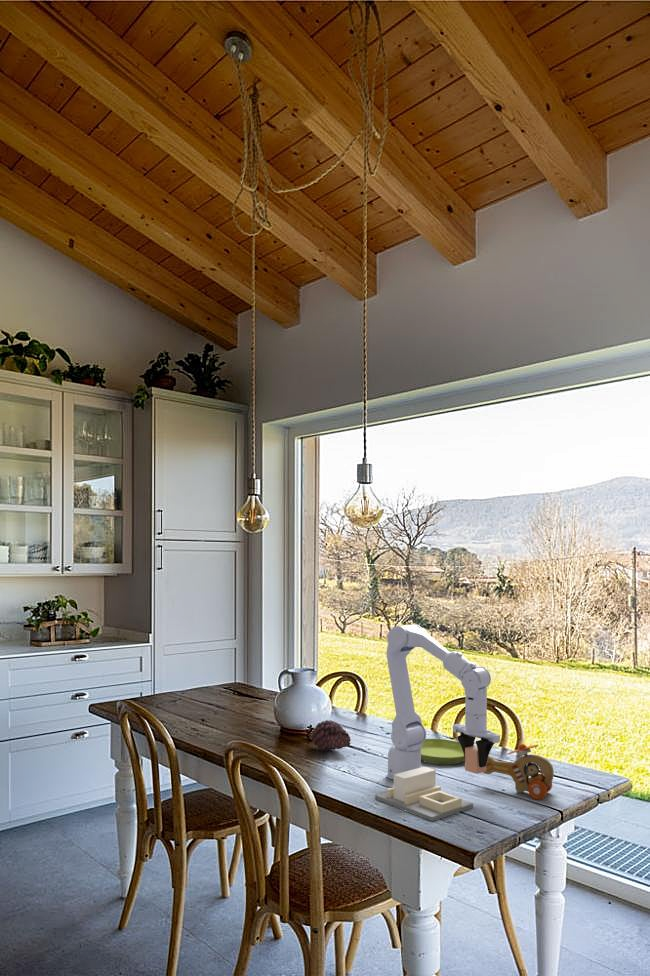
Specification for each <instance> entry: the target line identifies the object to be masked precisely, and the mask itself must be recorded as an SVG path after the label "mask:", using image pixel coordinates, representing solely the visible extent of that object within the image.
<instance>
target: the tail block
mask: <svg viewBox="0 0 650 976" xmlns="http://www.w3.org/2000/svg"><path fill="white" fill-rule="evenodd" d="M464 769H465V770H464V771H466V772H469V773H472V774H476V775H478V774H483V772H485V771H486V766H485V767H479V759H478V749H477V745H475V744H474V745H473V746H470V747H466V748H465V760H464Z"/></svg>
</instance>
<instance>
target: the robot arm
mask: <svg viewBox="0 0 650 976" xmlns="http://www.w3.org/2000/svg"><path fill="white" fill-rule="evenodd" d="M386 639H387V647H386V659H387V666H388V672H389V680H390V685H391V690H392V691H391V692H392V697H393V702H394V708H395V709H394V710H395V716H394V717H393V718H394V719H393V720H392V721H391V734H390V738H391V742H392V744H393V745H391V746H390V748H389V750H388V754H387V774H385V777H386V778H388V779H391V780H393V781H394V774H398V773H402V772H405V771H409V770H413V769H417V768H421V767H422V761H421V747H422V743H423V742H424V741H425V739H427V730H426V728H425V726H424V724H423V722H422V718H421V716H420V715H419V714H418V713H417V712H416V711H415V705H414V699H413V693H412V687H411V682H410V675H409V670H408V669H409V668H408V664H407V657H408V655H409V654H410V653H411V651H412V650H414V649H415V648H422V649H423V650H424V651H426V652H427V653H429V654H430V655H432V656H433V657H435V658H436V659H438V660H439V661H441V662H442V666H443V668H444V670H446V671H447V672H449V673H450V674H451V675H453V677H455V678H457V679H458V680H459V681H460V683H461V685H462V687H463V689H464V696H465V697H464V698H465V702H464V703H465V705H464V706H465V707H464V708H465V711H464V712H465V714H464V721H465V722H464V724H459V723H456V724H453V725H452V733H459V735H457V738H456V739H457V742H459V743H460V745H461V747H462V750H463V753H464V757H465V748H466V747H470V746H473V745H475V744H476V746H477V749H478V759H479V767H485V766H486V763H487V759H488V756H490V753H491V751H492V748H493V746H495V744H497V743H498V744H499V743H500V742H501V734H498V733H496V732H493V731H490V730H488V728H487V727H488V726H487V725H488V721H487V719H488V716H487V715H488V710H487V709H488V704H487V703H488V687H489V686H490V684H491V681H492V678H491V677H492V675H491V674H490V672H489V671H488V670H487V669H486V667H484V666H477V665H476V663H475V662H471V661H469V660H468V659H467V658H466V657H465V656H463V653H462V652H461V651H456V650H455V651H449V650H448V649H447V648H446V647H445V646H443V645H442V644H441V643H440V642H439V641H437V640H436V639H435V638H434V637H432V636H431V635H430V634H429V633H428V632H427V630H426V628H424V627H422V626H421V625H419V624H417V623H412V624H406V625H394V626H392V628H391V629H390V631H388V633H387V635H386ZM476 738H478V739H479V740H478V739H477V740H476Z"/></svg>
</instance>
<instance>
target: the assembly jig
mask: <svg viewBox="0 0 650 976" xmlns="http://www.w3.org/2000/svg"><path fill="white" fill-rule="evenodd" d="M441 789H442V787H441V786H440V785H435V787H432V788H429V789H425V790H422V791H418V792H415V793H412V794H408V795H405V796H404V802H403V801H400V800H398V799H395V798H394V786H393V787H389V788H386V791H385V792H381V793H378V794H375V800H377V801H380V802H382V803H385V804H386V805H390V806H392V805H393V806H392V807H394V808H397V807H398V808H397V809H401V810H402V809H403V811H405V810H406V811H405V812H407V811H408V813H410V812H411V813H410V814H412V813H414V814H413V815H415V814H416V815H415V816H417V815H418V817H420V816H421V818H422V817H423V818H422V819H425V818H426V819H425V820H427V819H428V820H427V821H430V822H434V821H437V820H441V819H443V818H446V817H449V816H452V815H455V814H457V813H461V812H464V811H466V810H469V809H470V810H471V809H472V808H474V803H473V802H471V801H468V800H465V799H462V798H461V797H459V796H456V795H453V794H450V793H448V792H444V791H442V790H441ZM463 810H464V811H463ZM460 811H461V812H460ZM454 813H455V814H454Z"/></svg>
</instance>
